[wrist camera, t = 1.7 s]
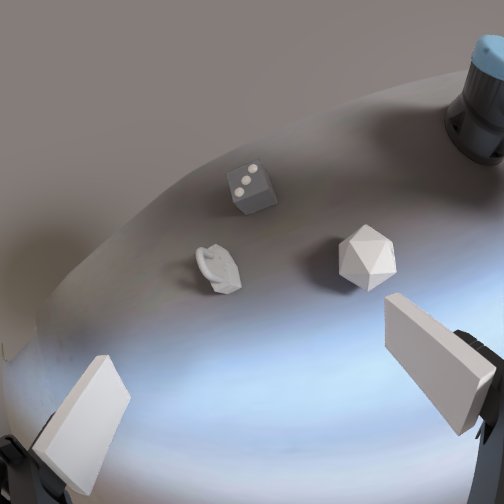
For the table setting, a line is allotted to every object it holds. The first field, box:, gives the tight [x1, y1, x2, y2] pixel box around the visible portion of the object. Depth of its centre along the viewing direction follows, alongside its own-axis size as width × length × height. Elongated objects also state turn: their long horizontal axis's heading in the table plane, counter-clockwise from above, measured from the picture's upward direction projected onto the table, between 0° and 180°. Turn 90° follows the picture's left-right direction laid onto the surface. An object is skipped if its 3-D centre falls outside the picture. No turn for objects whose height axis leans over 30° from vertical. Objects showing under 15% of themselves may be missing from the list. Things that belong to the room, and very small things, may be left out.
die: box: [339, 224, 396, 292], centre depth 37 cm, size 8×9×10 cm
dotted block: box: [226, 159, 278, 216], centre depth 47 cm, size 6×6×6 cm
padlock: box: [195, 244, 242, 294], centre depth 44 cm, size 7×4×10 cm, turn 22°
